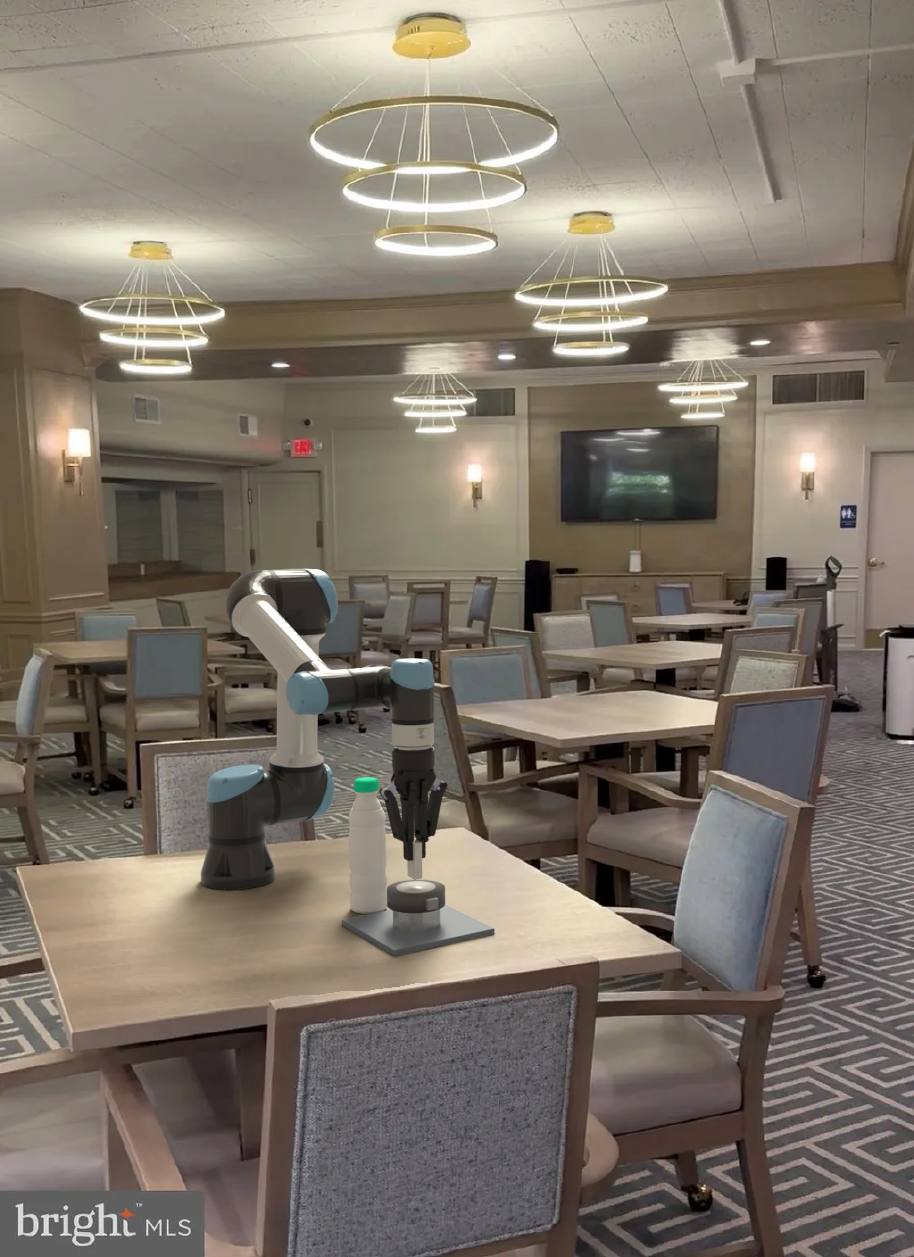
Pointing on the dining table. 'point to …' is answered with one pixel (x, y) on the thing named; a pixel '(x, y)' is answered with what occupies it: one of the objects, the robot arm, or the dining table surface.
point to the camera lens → (416, 896)
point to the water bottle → (367, 849)
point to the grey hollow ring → (416, 921)
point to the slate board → (403, 942)
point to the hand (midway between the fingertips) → (414, 877)
